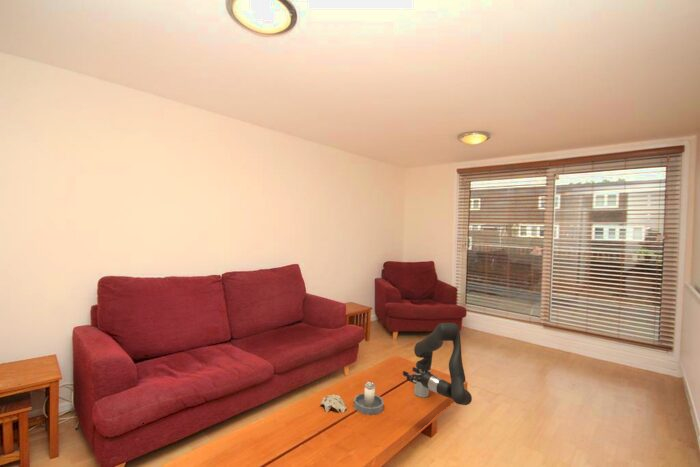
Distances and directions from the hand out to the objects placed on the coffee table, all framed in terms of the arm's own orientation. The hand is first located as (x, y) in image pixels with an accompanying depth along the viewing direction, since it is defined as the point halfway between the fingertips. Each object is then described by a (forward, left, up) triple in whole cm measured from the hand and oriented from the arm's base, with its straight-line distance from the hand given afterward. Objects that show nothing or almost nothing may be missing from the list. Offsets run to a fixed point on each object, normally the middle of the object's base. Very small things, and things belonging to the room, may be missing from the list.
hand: (408, 370), depth 183 cm
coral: (+19, -38, -28) cm, 50 cm away
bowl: (+4, -22, -27) cm, 35 cm away
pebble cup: (+4, -22, -26) cm, 34 cm away
